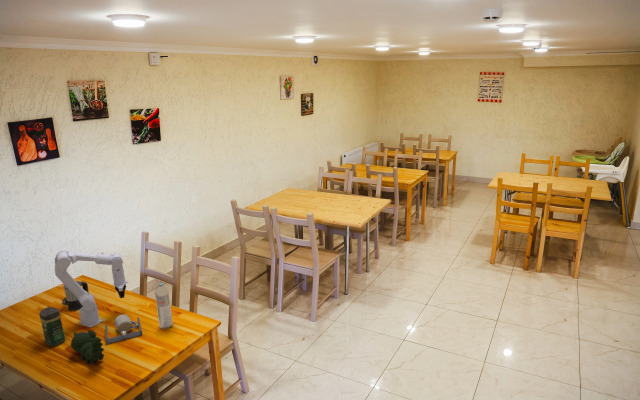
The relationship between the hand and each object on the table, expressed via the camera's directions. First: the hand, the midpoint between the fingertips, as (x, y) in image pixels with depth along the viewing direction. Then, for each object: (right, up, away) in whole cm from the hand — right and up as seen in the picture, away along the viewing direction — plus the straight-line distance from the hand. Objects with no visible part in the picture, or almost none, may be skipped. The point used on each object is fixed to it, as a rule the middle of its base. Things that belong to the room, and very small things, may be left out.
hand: (122, 297), depth 245 cm
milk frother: (-35, -8, +13) cm, 38 cm away
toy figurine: (0, -21, -35) cm, 41 cm away
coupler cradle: (+8, -15, -15) cm, 23 cm away
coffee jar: (-24, -18, -22) cm, 37 cm away
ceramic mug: (+8, -15, -12) cm, 21 cm away
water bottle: (+28, -13, -10) cm, 33 cm away
